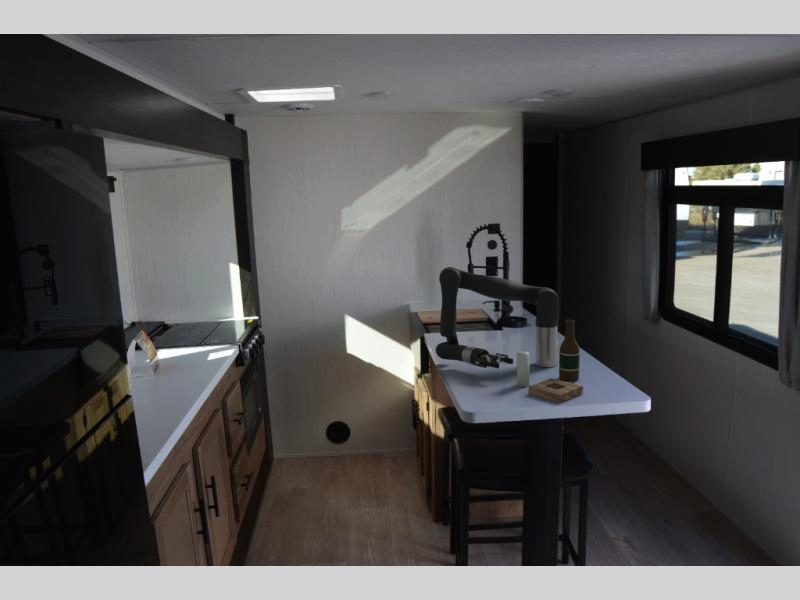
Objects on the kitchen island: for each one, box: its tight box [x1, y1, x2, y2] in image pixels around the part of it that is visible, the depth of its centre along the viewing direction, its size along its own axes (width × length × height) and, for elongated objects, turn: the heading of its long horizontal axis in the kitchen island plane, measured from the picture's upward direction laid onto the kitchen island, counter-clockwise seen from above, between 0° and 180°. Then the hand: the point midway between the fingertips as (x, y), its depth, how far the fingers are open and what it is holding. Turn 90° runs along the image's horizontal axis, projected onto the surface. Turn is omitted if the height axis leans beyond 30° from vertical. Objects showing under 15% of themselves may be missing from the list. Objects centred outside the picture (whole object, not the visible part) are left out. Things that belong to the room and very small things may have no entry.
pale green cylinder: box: [516, 350, 531, 388], centre depth 237 cm, size 5×5×13 cm
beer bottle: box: [558, 319, 581, 382], centre depth 242 cm, size 8×8×24 cm
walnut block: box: [528, 377, 584, 404], centre depth 226 cm, size 14×14×3 cm
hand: (505, 363), depth 243 cm, fingers open, 8 cm apart
